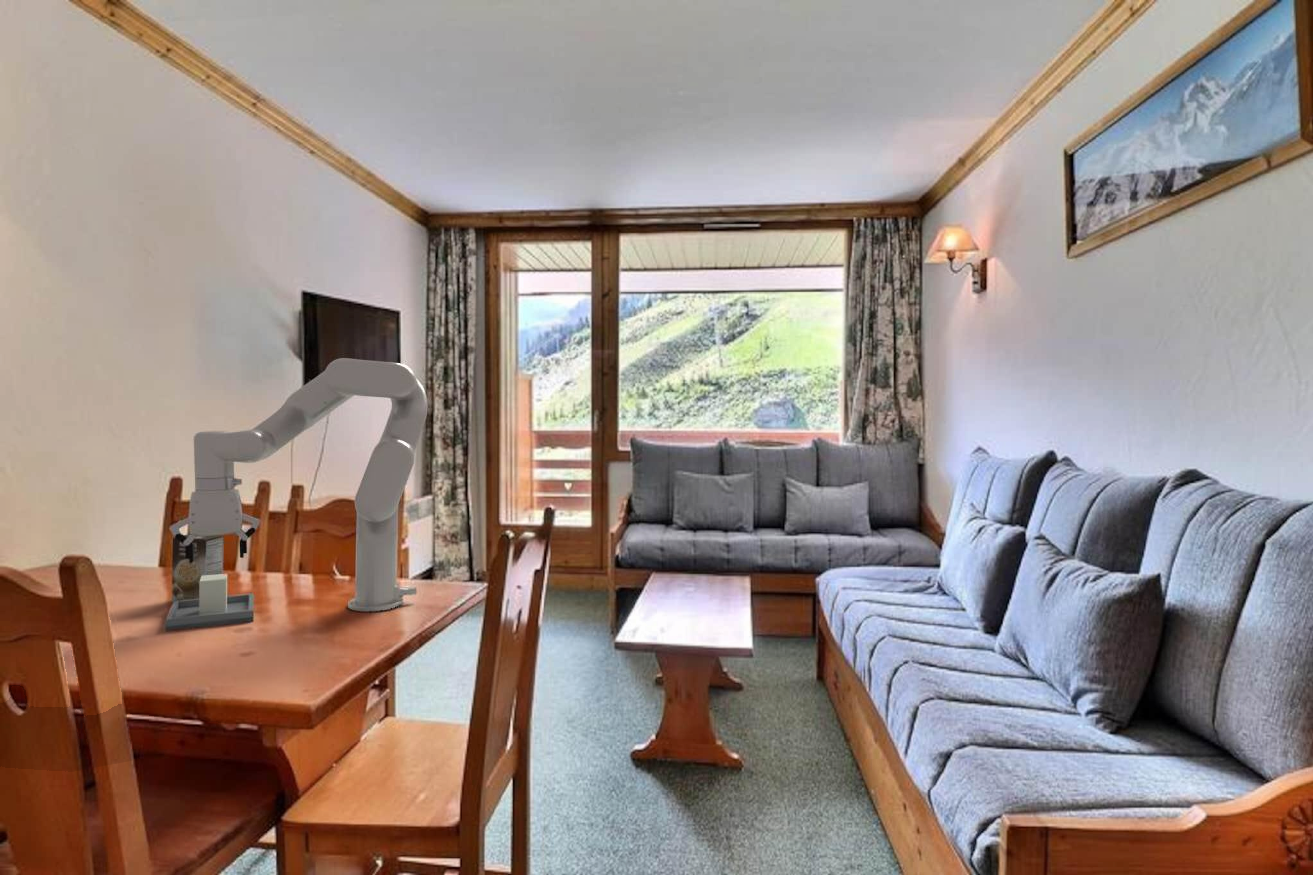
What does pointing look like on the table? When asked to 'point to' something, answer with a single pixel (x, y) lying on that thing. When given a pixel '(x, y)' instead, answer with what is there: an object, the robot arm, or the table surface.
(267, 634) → the table surface
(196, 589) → the coffee box
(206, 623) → the tray
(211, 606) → the sage block
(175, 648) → the table surface
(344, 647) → the table surface
